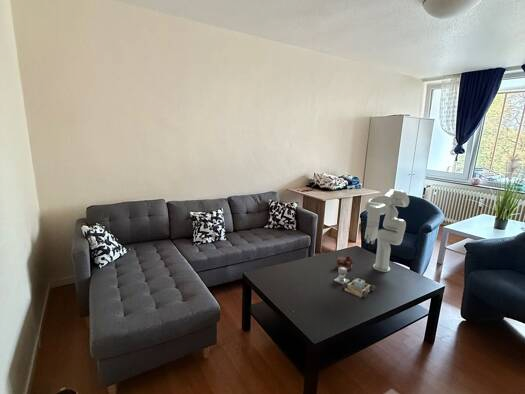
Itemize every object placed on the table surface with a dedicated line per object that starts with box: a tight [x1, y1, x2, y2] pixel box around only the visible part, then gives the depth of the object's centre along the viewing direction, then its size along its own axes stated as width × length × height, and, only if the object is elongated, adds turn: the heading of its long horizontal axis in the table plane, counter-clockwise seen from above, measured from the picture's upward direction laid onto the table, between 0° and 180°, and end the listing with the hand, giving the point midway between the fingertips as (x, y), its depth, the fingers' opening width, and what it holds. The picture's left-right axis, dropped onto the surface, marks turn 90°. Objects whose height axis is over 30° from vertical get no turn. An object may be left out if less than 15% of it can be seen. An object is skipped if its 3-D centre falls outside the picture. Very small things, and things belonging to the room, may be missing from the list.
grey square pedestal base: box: [333, 273, 351, 285], centre depth 197 cm, size 8×8×6 cm
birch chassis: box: [342, 276, 376, 299], centre depth 186 cm, size 16×16×4 cm
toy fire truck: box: [336, 255, 354, 271], centre depth 216 cm, size 7×12×10 cm, turn 81°
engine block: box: [354, 277, 366, 290], centre depth 186 cm, size 5×5×6 cm
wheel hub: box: [337, 266, 348, 276], centre depth 196 cm, size 6×6×3 cm
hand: (370, 248), depth 190 cm, fingers closed
